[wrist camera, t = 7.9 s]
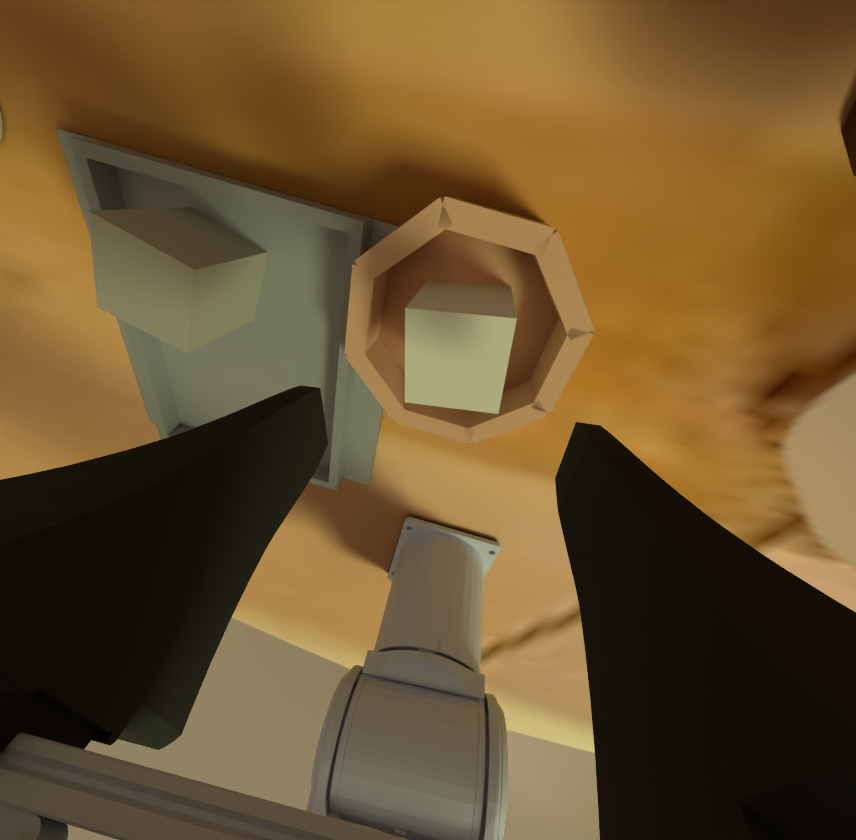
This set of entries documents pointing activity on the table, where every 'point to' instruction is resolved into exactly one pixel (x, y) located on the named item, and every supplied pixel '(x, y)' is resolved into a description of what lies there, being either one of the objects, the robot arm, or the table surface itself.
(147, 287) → the beige square block
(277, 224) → the parts tray
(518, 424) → the bowl
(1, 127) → the supplement bottle
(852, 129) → the ice cream bowl
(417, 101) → the table surface
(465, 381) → the sage green cube
